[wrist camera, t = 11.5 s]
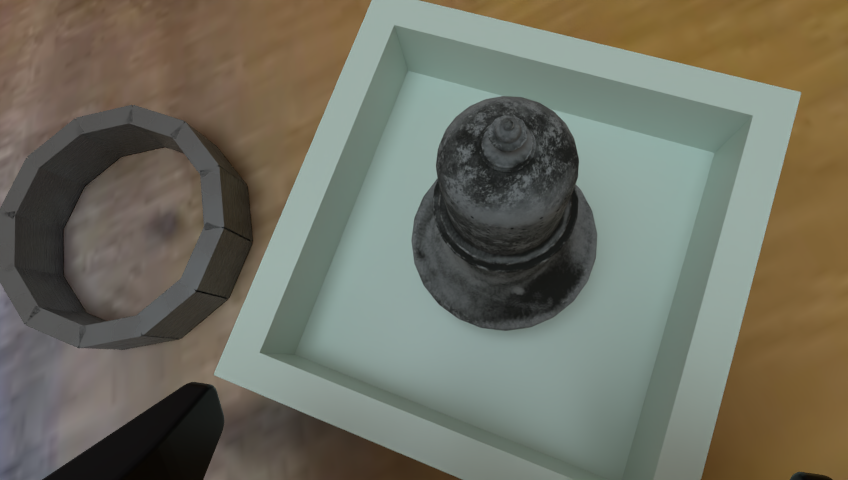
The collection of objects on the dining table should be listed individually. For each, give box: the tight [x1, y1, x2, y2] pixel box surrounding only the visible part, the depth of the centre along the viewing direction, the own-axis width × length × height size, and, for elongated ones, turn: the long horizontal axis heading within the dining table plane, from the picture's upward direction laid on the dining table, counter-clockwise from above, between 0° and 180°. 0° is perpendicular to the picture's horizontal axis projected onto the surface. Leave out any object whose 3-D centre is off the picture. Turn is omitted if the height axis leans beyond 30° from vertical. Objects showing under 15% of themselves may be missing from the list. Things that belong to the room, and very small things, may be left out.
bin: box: [214, 0, 801, 480], centre depth 20 cm, size 15×15×4 cm
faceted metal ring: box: [0, 105, 253, 350], centre depth 23 cm, size 10×10×2 cm
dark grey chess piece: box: [411, 96, 597, 331], centre depth 15 cm, size 6×6×12 cm
